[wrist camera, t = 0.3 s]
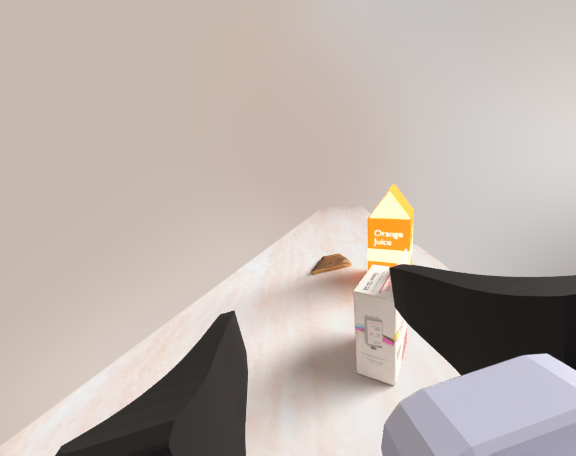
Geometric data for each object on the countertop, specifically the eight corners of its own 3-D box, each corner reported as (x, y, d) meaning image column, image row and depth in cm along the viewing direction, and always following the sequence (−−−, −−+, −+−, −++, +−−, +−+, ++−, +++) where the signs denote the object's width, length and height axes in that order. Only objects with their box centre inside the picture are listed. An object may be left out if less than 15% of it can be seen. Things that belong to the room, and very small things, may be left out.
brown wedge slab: (311, 277, 63) (311, 270, 62) (300, 265, 70) (299, 259, 69) (352, 268, 66) (352, 261, 65) (337, 257, 73) (337, 251, 72)
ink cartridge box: (372, 334, 41) (371, 242, 37) (407, 343, 38) (410, 246, 34) (353, 373, 34) (351, 266, 30) (395, 388, 31) (398, 273, 27)
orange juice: (367, 287, 55) (366, 190, 50) (375, 270, 62) (375, 183, 57) (409, 293, 51) (413, 189, 46) (412, 274, 59) (415, 182, 53)
